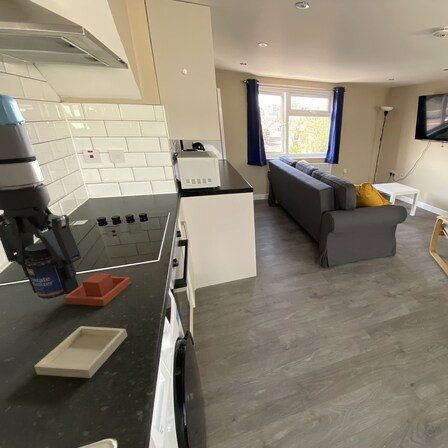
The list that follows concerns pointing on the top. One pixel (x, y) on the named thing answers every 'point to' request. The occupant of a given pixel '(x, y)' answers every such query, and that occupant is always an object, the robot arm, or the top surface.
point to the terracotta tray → (80, 296)
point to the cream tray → (81, 352)
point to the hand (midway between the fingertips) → (56, 289)
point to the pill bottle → (43, 271)
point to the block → (98, 284)
